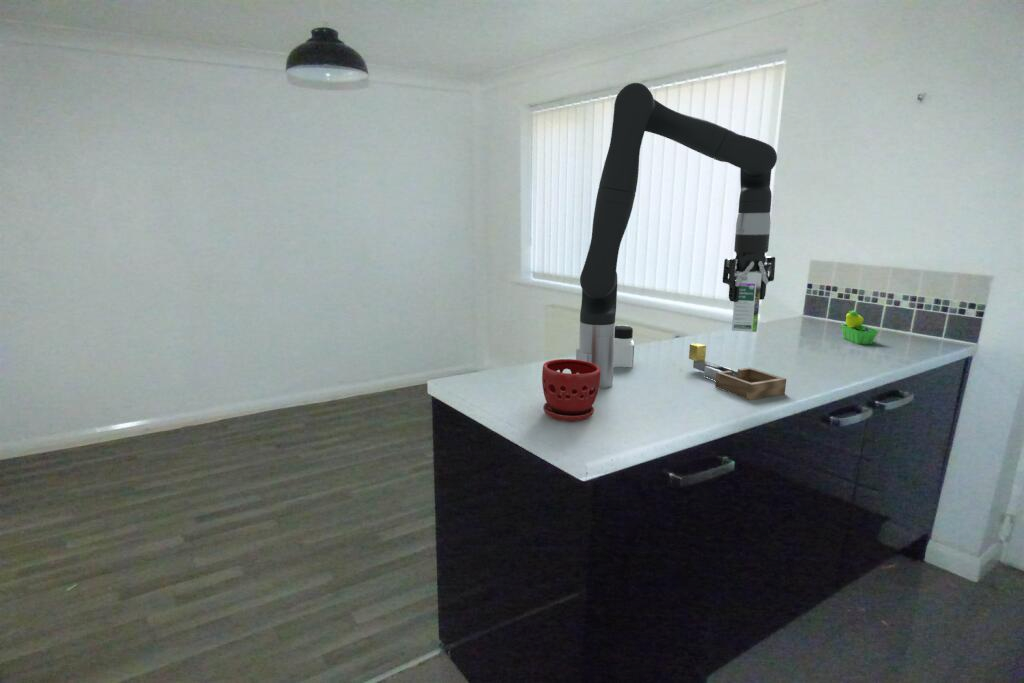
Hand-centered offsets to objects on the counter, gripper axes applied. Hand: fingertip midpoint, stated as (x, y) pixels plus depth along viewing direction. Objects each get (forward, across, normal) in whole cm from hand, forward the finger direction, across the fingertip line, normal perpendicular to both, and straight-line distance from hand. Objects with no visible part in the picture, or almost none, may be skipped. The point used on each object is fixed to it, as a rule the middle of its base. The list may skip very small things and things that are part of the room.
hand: (746, 300), depth 135 cm
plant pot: (+24, -46, +4) cm, 53 cm away
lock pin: (+23, +5, +18) cm, 30 cm away
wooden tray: (+25, +6, +2) cm, 25 cm away
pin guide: (+24, +6, +12) cm, 28 cm away
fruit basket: (+25, +85, +31) cm, 94 cm away
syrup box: (+8, 0, 0) cm, 8 cm away
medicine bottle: (+24, -11, +37) cm, 46 cm away
